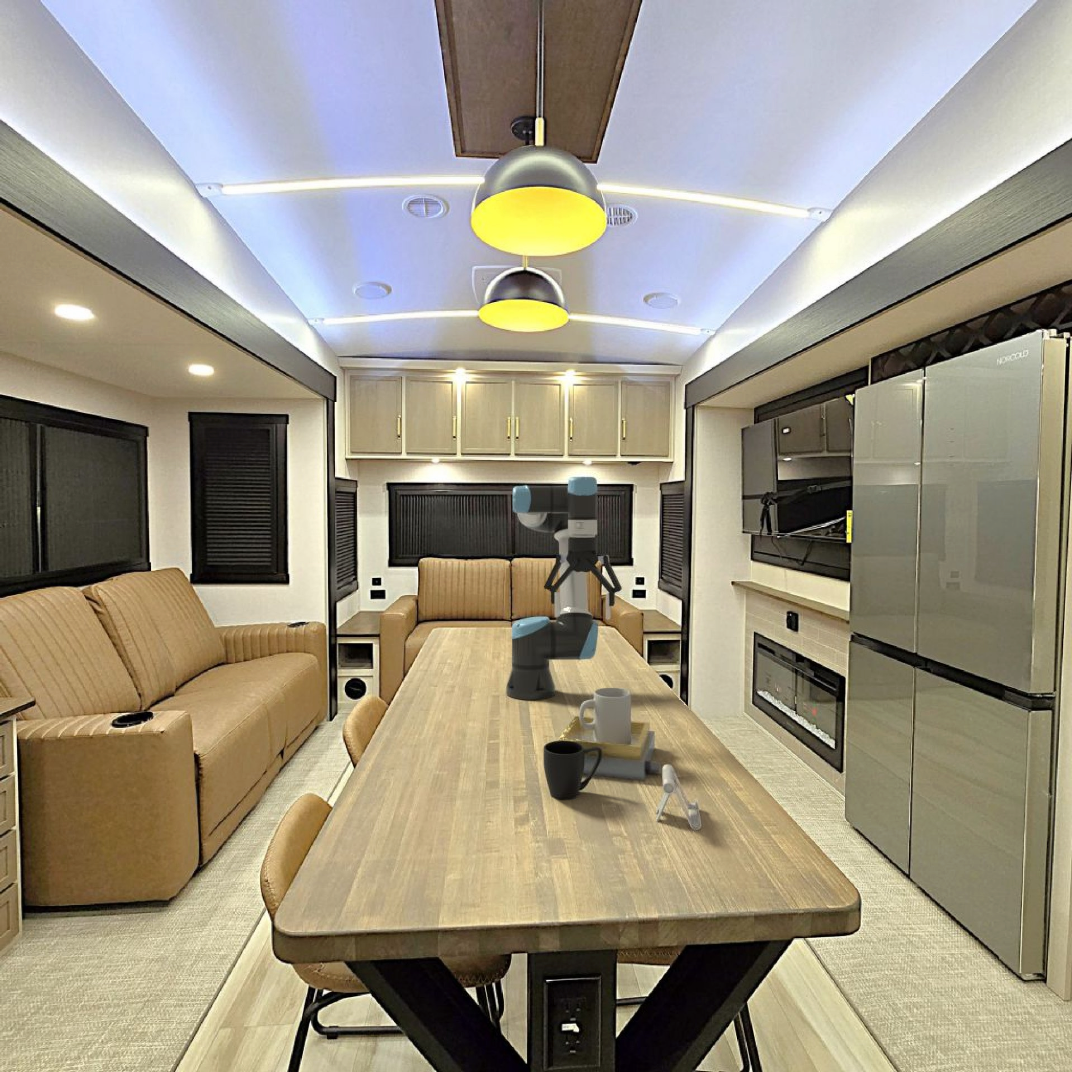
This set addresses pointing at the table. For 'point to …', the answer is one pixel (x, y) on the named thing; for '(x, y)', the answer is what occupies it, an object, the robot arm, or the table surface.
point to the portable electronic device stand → (671, 788)
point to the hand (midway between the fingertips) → (582, 617)
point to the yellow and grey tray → (617, 751)
